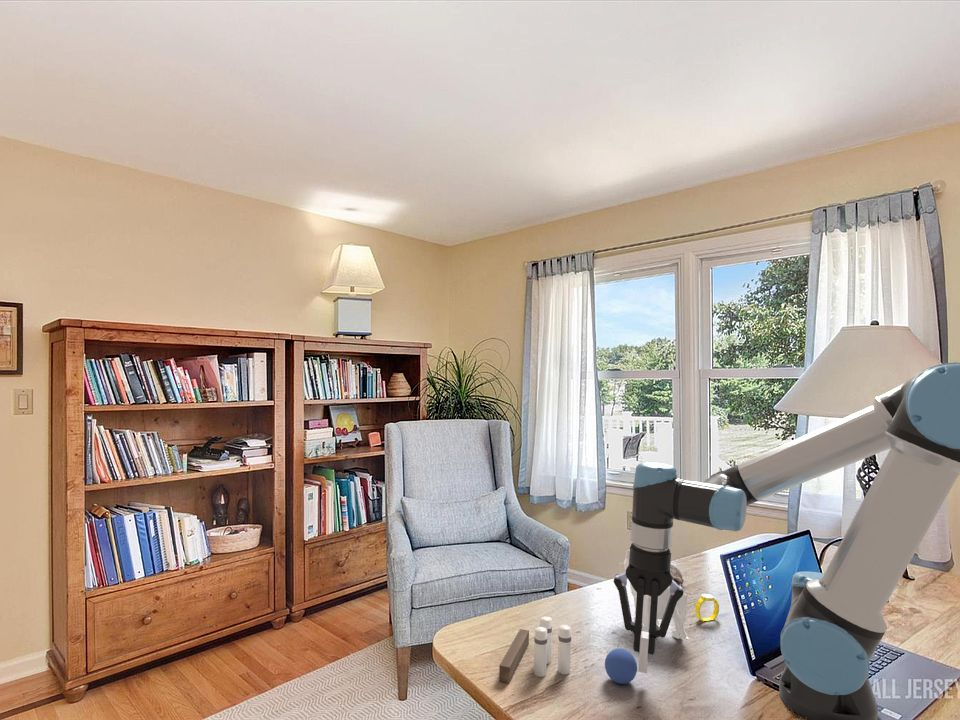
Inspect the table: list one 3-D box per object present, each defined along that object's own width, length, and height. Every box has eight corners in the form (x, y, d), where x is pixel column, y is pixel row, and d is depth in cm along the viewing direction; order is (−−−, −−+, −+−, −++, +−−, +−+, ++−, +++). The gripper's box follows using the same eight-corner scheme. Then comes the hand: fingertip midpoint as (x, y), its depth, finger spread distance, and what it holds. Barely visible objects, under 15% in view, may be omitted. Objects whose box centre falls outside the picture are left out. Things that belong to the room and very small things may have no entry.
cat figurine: (710, 657, 118) (712, 577, 119) (666, 663, 116) (668, 581, 116) (646, 607, 143) (647, 541, 143) (608, 611, 140) (609, 543, 140)
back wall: (528, 644, 122) (529, 630, 122) (509, 683, 107) (509, 667, 107) (519, 642, 123) (520, 628, 123) (499, 681, 107) (499, 665, 108)
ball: (638, 645, 108) (606, 638, 110) (635, 676, 104) (602, 668, 106) (638, 663, 111) (607, 656, 113) (635, 693, 107) (603, 686, 109)
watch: (712, 617, 138) (714, 593, 139) (720, 622, 136) (722, 597, 136) (692, 618, 137) (694, 593, 137) (699, 623, 134) (701, 598, 134)
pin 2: (549, 674, 110) (550, 630, 110) (539, 678, 109) (540, 634, 109) (540, 668, 112) (541, 625, 112) (530, 672, 111) (532, 628, 111)
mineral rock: (672, 598, 149) (672, 581, 150) (643, 589, 155) (644, 573, 155) (692, 583, 161) (692, 567, 161) (665, 575, 166) (665, 560, 166)
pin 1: (553, 661, 115) (554, 619, 115) (544, 665, 114) (545, 622, 114) (545, 656, 117) (546, 615, 117) (536, 660, 116) (537, 618, 116)
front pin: (573, 672, 111) (574, 628, 112) (564, 676, 110) (565, 632, 110) (564, 666, 113) (565, 623, 114) (555, 670, 112) (556, 627, 112)
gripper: (686, 545, 109) (678, 667, 109) (617, 534, 113) (609, 651, 113) (687, 557, 102) (679, 688, 102) (613, 545, 106) (605, 670, 106)
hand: (642, 668), depth 108 cm, fingers closed
